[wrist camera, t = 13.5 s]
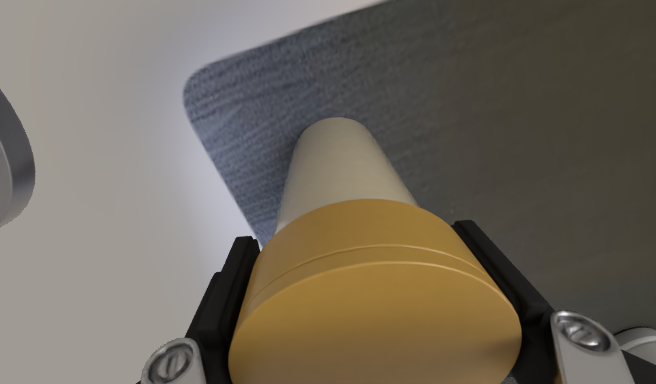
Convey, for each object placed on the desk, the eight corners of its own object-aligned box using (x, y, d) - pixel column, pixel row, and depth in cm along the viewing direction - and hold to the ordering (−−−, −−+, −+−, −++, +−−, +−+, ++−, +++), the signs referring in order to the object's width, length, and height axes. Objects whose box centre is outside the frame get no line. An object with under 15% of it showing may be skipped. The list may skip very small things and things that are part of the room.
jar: (306, 207, 22) (290, 412, 10) (280, 130, 19) (208, 281, 7) (385, 188, 22) (479, 380, 9) (371, 106, 19) (484, 222, 6)
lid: (250, 354, 11) (231, 437, 8) (244, 186, 7) (211, 250, 5) (432, 359, 11) (462, 438, 9) (506, 208, 8) (585, 272, 6)
